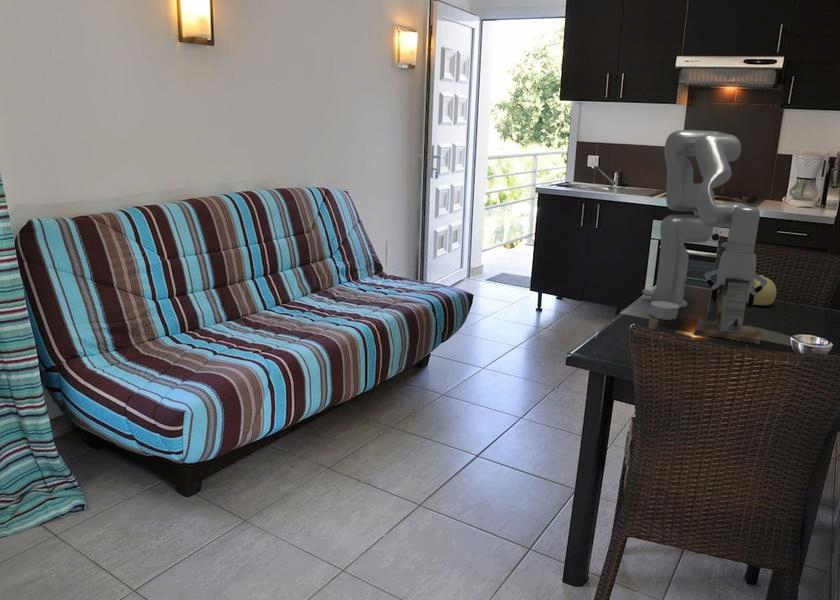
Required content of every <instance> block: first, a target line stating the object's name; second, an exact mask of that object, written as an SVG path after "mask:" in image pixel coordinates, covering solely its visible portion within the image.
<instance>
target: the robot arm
mask: <svg viewBox="0 0 840 600" xmlns="http://www.w3.org/2000/svg"><path fill="white" fill-rule="evenodd" d="M741 153H742V144H741V142H740V140H739V138H738V137H737V136H735V135H733V134H730V133H729V134H728V133H725V132H721V131H715V130H699V129H696V130H695V129H680V130H675V131H673V132H671V133H670V134H669V135H668V136H667V137H666V140H665V144H664V159H665V164H666V174H667V175H666V189H665V190H666V195H665V200H666V201H665V202H666V206H667V208H668V209H670V210H672V211H677V212H693V213H694V214H670V215H668V216H665V217H664V218H663V219H662V220H661V223H660V226H659V231H660V232H659V233H660V249H659V250H660V252H659V261H658V267H657V268H658V269H657V275H656V276H657V277H656V286H655V289H651V290H650V289H643V288H642V295H644V296H645V297H646V296H647V297H650V298H649V302H650V303H651V302H655V301H663V302H670V303H674V304H677V305H679V309H681V308H686V307H688V302H687V301H686V300H685V299H684V297H685V296H684V295H685V288H686V281H687V280H686V279H687V273H688V266H689V265H688V264H689V259H690V258H689V252H688V249H687V248H686V247H685V243H686V244H688V243H691V244H692V243H693V244H697V243H701V244H702V243H706V242H709V240H710V239H711V238H712V235H713V232H714V231H713V230H714V228H729V229H728V236H727V241H726V242H721V245H720V246H721V248H725V250H724V251H722V254H721V256H720V260H719V263H718V268H717V269H714V270H711V271H708V272H705V273H704V274H703V275H704V279H705V280H706V283H707V284H708V286H709V287H710V289H711V296H710V300H712V303H713V304H715V303H716V301H717V297H718V289H719V288H718V287H720V285H725V280H726V278H727V279H737V280H744V281H749V288H748V289H749V291H750V294H749V300H748V304H747V306H746V307H747V308H749V309H751V306H754V305H753V301H754V295H755V294H756V293H758V292H759V291H761V290H762V289H763V288H764V286H765V285H766V284H767V280H765V279H764V278H762V277H760V276H759V274H758V273H756V269H757V268H756V267H757V255H756V253H754V252H755V245H756V240H757V233H758V227H759V221H760V216H761V211H760V209H759V208H758V207H754V206H748V205H747V204H746V203H741V202H721V201H720V202H718V201H715V194H714V190H713V189H715V188H717V187H720V186H722V185H723V184H725V183H726V182H728V181H729V180H730V179H731V177H732V169H731V166H730V164H729V162H730V163H731V162H735V161H736V160H738V159H739V157H740V155H741ZM687 157H695V159H696V162H697V165H698V169H699V171H700V174H701V178H702V182H701V183H697V182H696V183H694V168H693V165H692V164H691V161H690V160H689V159H688V158H687ZM715 275H716V281H715V282H714V280H712V278H711V277H712V276H715ZM754 279H756V280H758V281H759V282H761V284H760V285H759V286H758V287H756V288H754V287H753V284H754ZM750 304H751V305H750Z"/></svg>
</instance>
